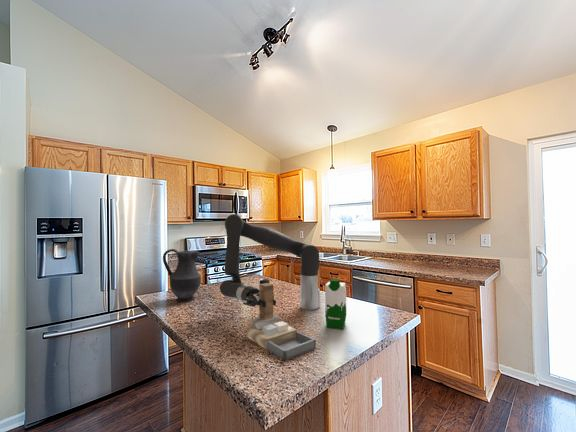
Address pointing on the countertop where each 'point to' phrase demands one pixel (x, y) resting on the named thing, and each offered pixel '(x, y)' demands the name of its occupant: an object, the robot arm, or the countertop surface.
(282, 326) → the tile
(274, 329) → the tile
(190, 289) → the pitcher
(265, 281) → the medicine bottle
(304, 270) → the robot arm
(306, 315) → the countertop surface
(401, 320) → the countertop surface
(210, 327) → the countertop surface
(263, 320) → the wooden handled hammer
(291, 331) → the light wood board
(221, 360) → the countertop surface
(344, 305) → the milk carton
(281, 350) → the tray
